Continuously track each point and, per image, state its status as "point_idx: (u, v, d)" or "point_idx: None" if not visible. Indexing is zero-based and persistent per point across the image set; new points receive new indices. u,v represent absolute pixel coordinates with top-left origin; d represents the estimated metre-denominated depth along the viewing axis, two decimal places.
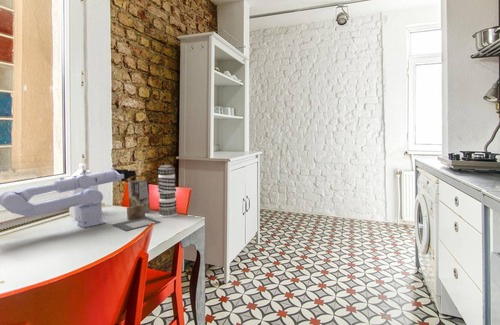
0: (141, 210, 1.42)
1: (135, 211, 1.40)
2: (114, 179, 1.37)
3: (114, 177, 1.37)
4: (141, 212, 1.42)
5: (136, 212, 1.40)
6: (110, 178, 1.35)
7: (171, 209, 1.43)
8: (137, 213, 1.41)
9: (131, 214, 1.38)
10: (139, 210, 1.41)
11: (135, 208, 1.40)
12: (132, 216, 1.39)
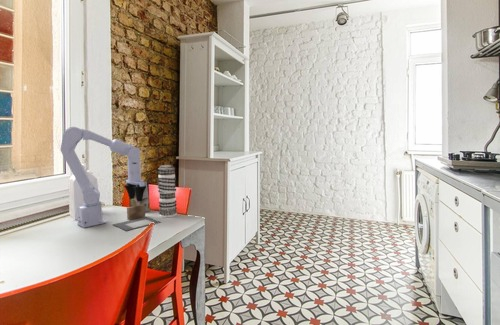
0: (141, 210, 1.42)
1: (135, 211, 1.40)
2: (134, 180, 1.37)
3: (136, 180, 1.38)
4: (141, 212, 1.42)
5: (136, 212, 1.40)
6: (136, 176, 1.37)
7: (171, 209, 1.43)
8: (137, 213, 1.41)
9: (131, 214, 1.38)
10: (139, 210, 1.41)
11: (135, 208, 1.40)
12: (132, 216, 1.39)
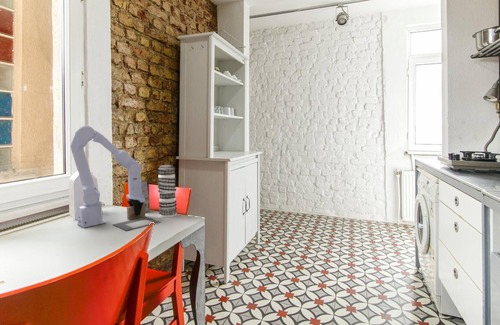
0: (141, 210, 1.42)
1: None
2: (134, 196, 1.38)
3: (137, 195, 1.38)
4: (141, 212, 1.42)
5: None
6: (136, 192, 1.38)
7: (171, 209, 1.43)
8: None
9: (131, 214, 1.38)
10: None
11: None
12: (132, 216, 1.39)
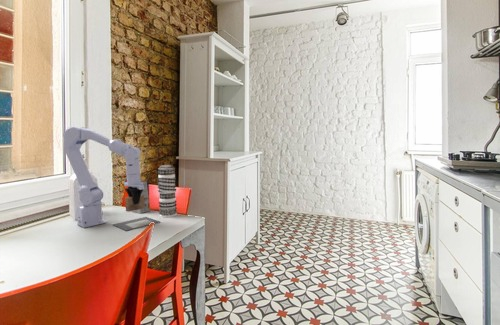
0: (140, 201, 1.34)
1: None
2: (133, 183, 1.30)
3: (135, 183, 1.30)
4: (140, 203, 1.34)
5: None
6: (135, 178, 1.30)
7: (171, 209, 1.43)
8: (136, 204, 1.33)
9: (129, 205, 1.30)
10: None
11: None
12: (131, 207, 1.31)
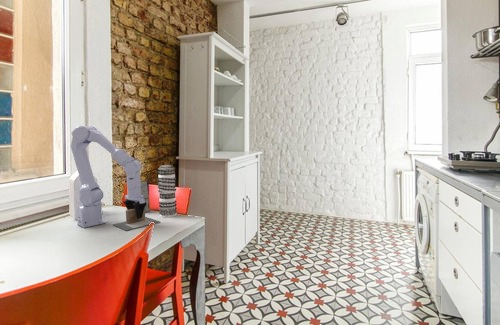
0: None
1: (134, 214, 1.32)
2: (133, 196, 1.30)
3: (136, 196, 1.30)
4: None
5: (135, 215, 1.33)
6: (135, 192, 1.30)
7: (171, 209, 1.43)
8: None
9: (130, 217, 1.31)
10: None
11: (134, 211, 1.32)
12: (131, 219, 1.31)
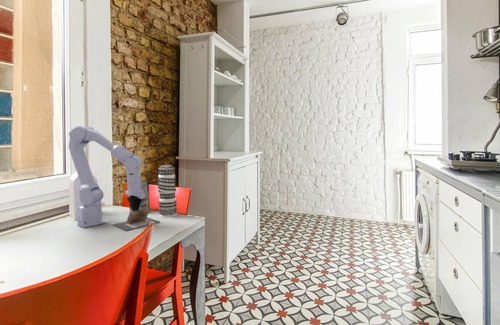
0: (143, 215, 1.33)
1: (137, 217, 1.31)
2: (134, 192, 1.30)
3: (136, 191, 1.30)
4: (143, 217, 1.33)
5: (138, 217, 1.31)
6: (136, 187, 1.30)
7: (171, 209, 1.43)
8: (138, 218, 1.32)
9: (132, 219, 1.30)
10: (141, 216, 1.32)
11: (138, 214, 1.30)
12: (132, 220, 1.31)
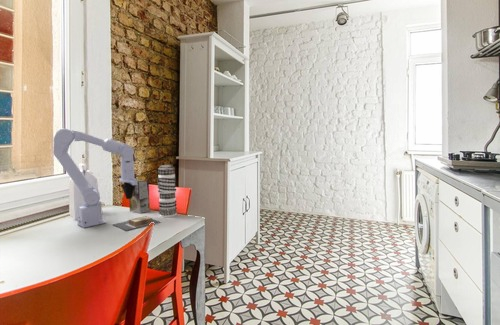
0: None
1: None
2: (127, 179, 1.36)
3: (129, 179, 1.37)
4: None
5: None
6: (129, 175, 1.36)
7: (171, 209, 1.43)
8: None
9: None
10: None
11: None
12: None
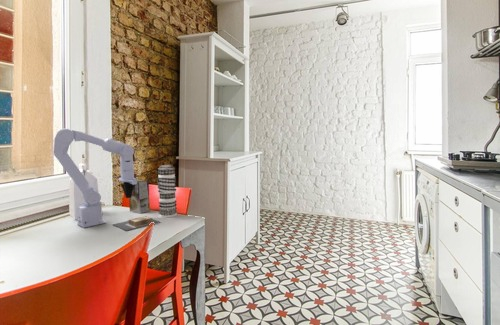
0: None
1: None
2: (126, 178, 1.37)
3: (129, 178, 1.38)
4: None
5: None
6: (128, 174, 1.38)
7: (171, 209, 1.43)
8: None
9: None
10: None
11: None
12: None
